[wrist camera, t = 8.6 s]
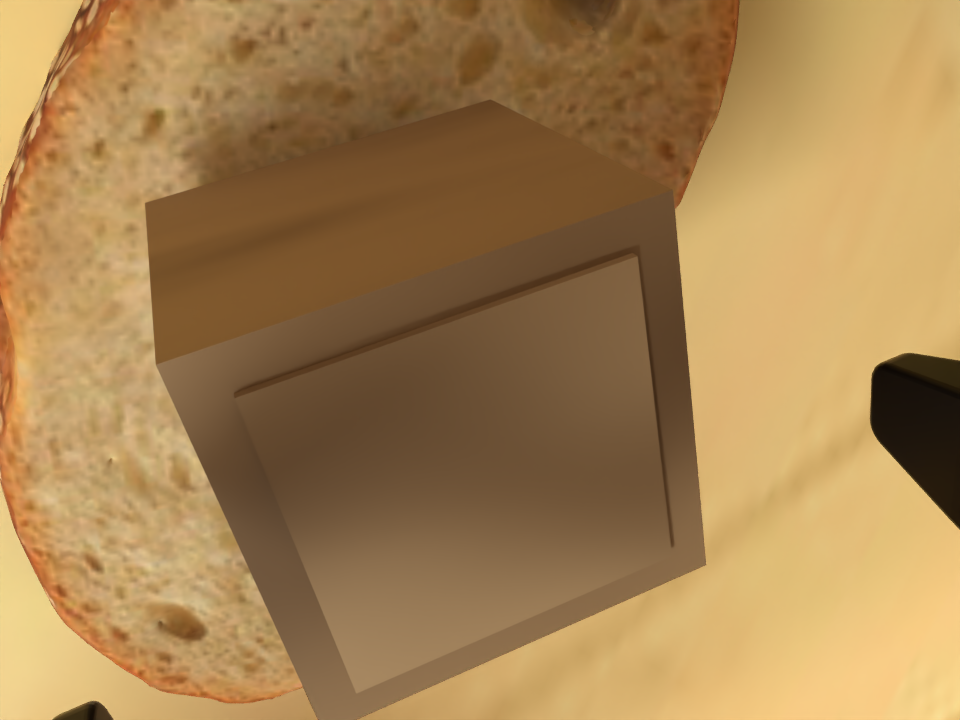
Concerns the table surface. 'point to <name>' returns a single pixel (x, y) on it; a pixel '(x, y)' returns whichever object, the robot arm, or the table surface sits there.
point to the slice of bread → (223, 154)
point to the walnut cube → (433, 392)
